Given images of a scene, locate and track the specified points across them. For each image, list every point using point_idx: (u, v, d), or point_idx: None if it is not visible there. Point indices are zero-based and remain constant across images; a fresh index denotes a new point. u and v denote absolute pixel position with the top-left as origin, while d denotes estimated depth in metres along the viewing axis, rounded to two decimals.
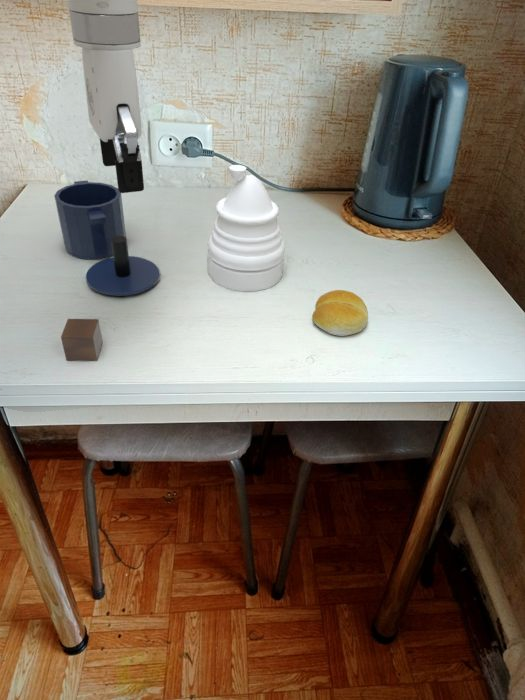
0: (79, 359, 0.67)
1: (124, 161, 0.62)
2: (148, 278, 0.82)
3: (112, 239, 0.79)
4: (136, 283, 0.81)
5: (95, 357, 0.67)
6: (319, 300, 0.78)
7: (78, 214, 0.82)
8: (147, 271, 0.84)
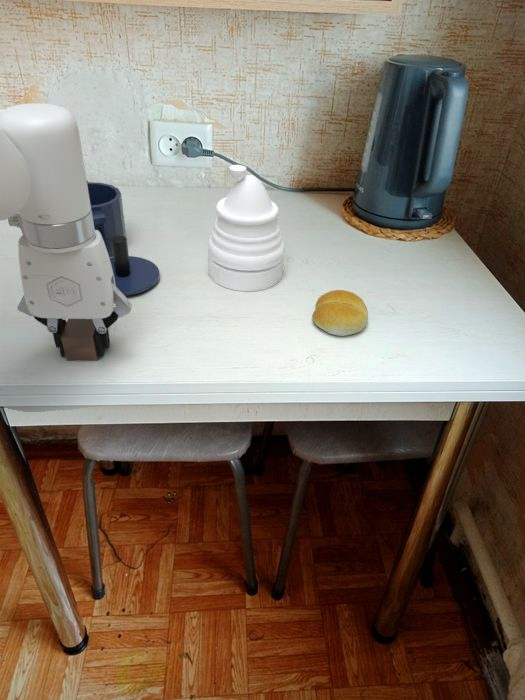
0: (79, 359, 0.67)
1: (107, 328, 0.66)
2: (148, 278, 0.82)
3: (112, 239, 0.79)
4: (136, 283, 0.81)
5: (95, 357, 0.67)
6: (319, 300, 0.78)
7: None
8: (147, 271, 0.84)
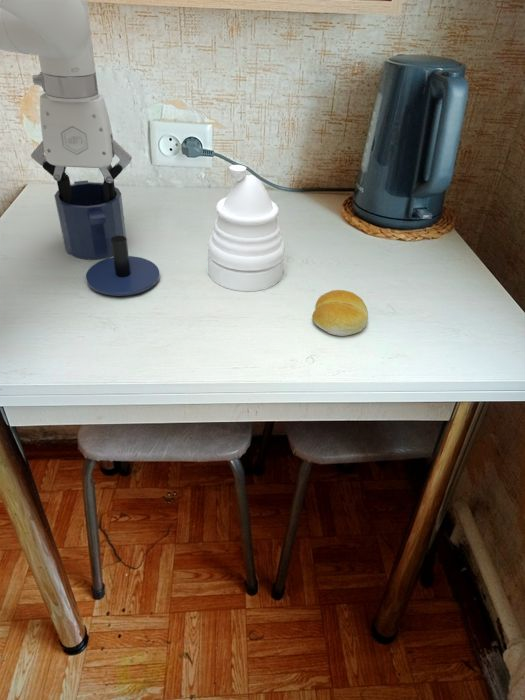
0: None
1: (113, 179, 0.84)
2: (148, 278, 0.82)
3: (112, 239, 0.79)
4: (136, 283, 0.81)
5: None
6: (319, 300, 0.78)
7: (78, 214, 0.82)
8: (147, 271, 0.84)
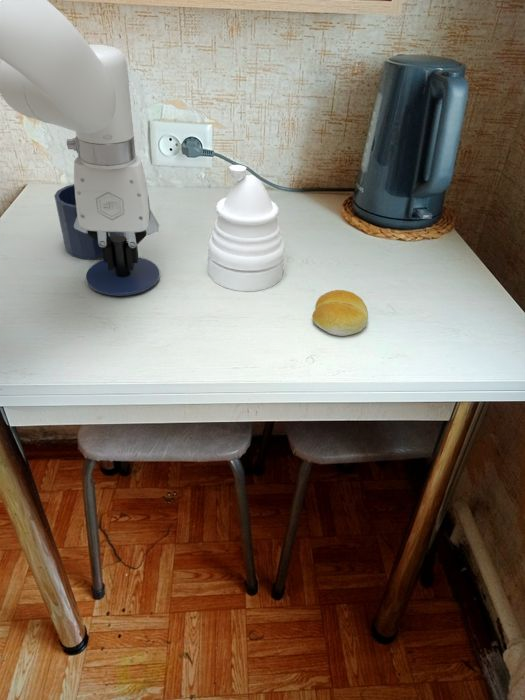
0: None
1: None
2: (148, 278, 0.82)
3: (112, 239, 0.79)
4: (136, 283, 0.81)
5: None
6: (319, 300, 0.78)
7: None
8: (147, 271, 0.84)
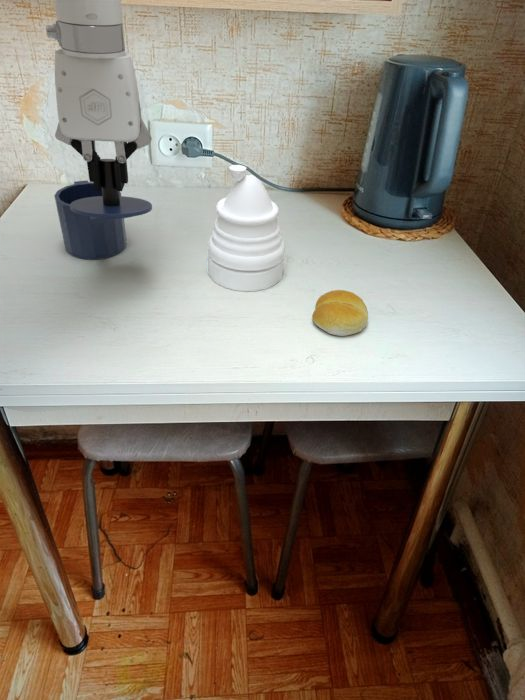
0: None
1: (126, 159, 0.70)
2: (136, 208, 0.73)
3: (101, 159, 0.72)
4: (121, 210, 0.72)
5: None
6: (319, 300, 0.78)
7: (78, 214, 0.82)
8: (138, 205, 0.75)
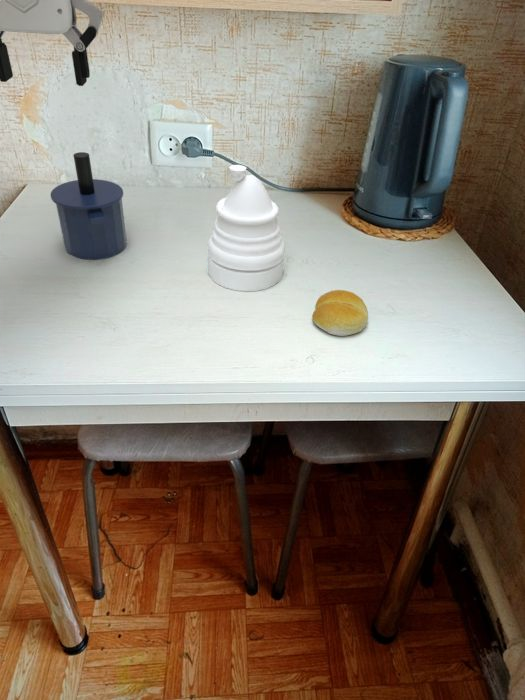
0: None
1: (85, 48, 0.65)
2: (109, 198, 0.84)
3: (75, 154, 0.81)
4: (95, 200, 0.83)
5: None
6: (319, 300, 0.78)
7: (78, 214, 0.82)
8: (111, 192, 0.86)
